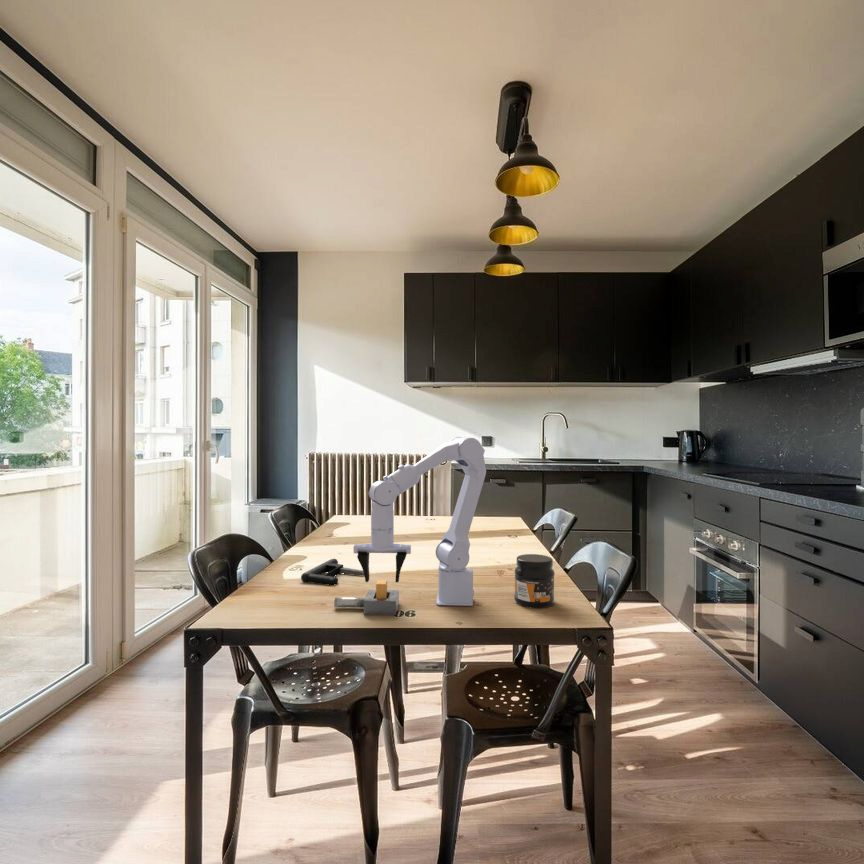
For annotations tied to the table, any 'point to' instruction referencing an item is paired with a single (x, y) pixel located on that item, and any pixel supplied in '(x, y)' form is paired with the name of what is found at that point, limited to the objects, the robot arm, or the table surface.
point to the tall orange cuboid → (381, 589)
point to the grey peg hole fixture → (372, 603)
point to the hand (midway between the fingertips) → (382, 581)
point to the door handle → (332, 569)
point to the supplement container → (534, 581)
